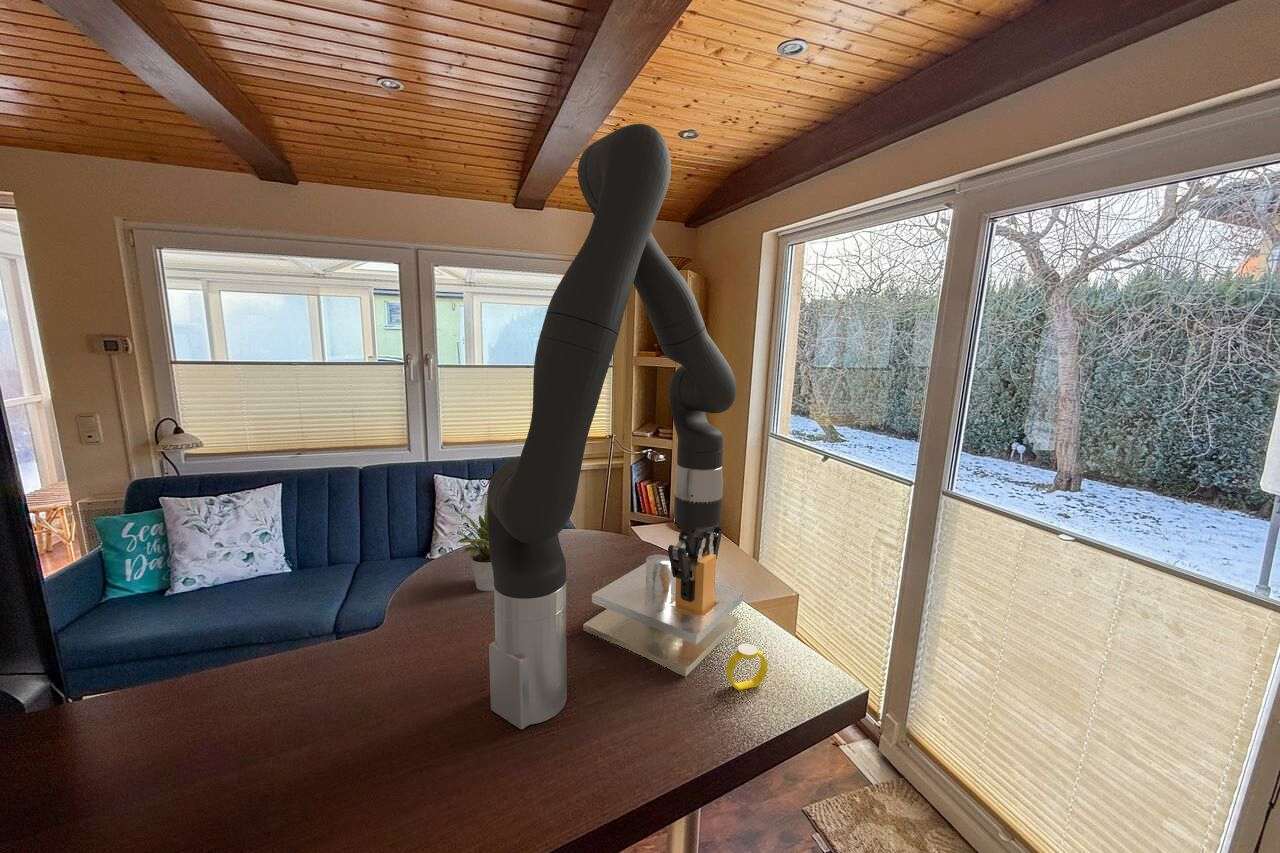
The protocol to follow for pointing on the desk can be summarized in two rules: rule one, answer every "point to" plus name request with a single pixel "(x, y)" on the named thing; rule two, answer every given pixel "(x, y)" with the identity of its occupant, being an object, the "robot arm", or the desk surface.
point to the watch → (748, 653)
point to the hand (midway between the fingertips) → (694, 593)
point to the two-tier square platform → (661, 617)
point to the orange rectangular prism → (700, 586)
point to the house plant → (480, 553)
